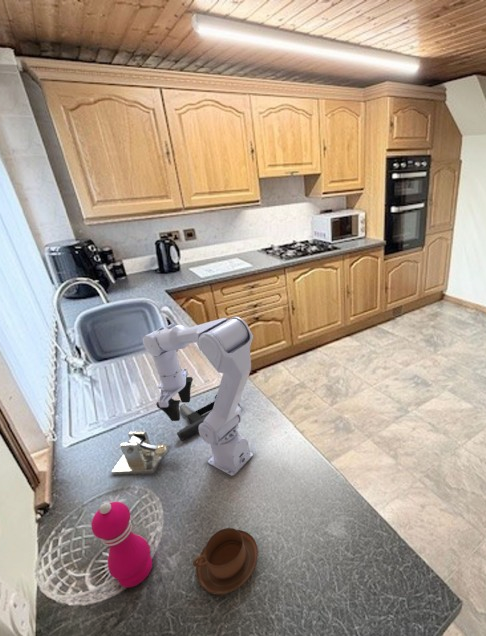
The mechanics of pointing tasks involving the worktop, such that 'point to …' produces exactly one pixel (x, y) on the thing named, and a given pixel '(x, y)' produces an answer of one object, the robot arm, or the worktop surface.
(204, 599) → the worktop surface
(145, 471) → the bracket
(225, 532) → the cup and saucer
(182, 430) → the door handle
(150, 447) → the lever
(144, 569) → the pepper mill
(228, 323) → the robot arm
